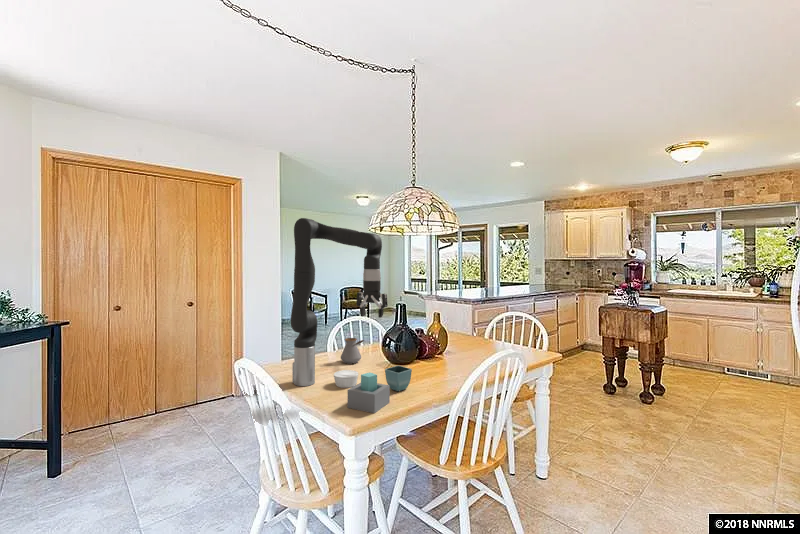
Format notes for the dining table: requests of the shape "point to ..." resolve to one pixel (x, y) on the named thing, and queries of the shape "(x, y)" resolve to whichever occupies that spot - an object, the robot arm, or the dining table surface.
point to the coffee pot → (351, 351)
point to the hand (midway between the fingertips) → (371, 316)
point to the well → (368, 398)
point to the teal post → (369, 382)
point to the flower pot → (398, 377)
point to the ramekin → (346, 378)
